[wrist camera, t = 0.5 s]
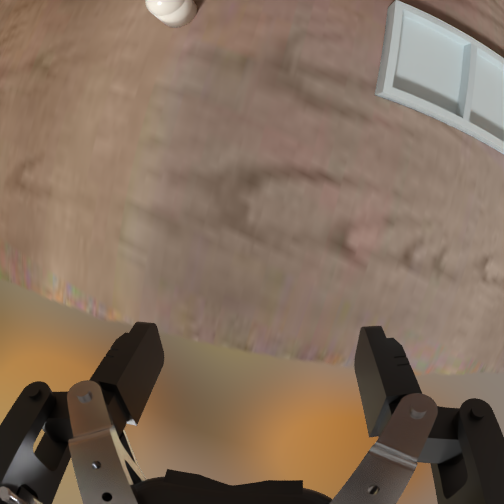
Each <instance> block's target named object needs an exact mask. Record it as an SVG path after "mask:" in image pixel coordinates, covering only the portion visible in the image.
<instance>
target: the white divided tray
mask: <svg viewBox="0 0 504 504" xmlns="http://www.w3.org/2000/svg"><path fill="white" fill-rule="evenodd" d="M375 95H376V96H379V97H382V98H385V99H388V100H390V101H393V102H396V103H398V104H401V105H404V106H406V107H409V108H411V109H414V110H416V111H419V112H421V113H423V114H426V115H428V116H430V117H433V118H435V119H437V120H439V121H441V122H444V123H446V124H448V125H450V126H452V127H454V128H456V129H458V130H460V131H462V132H464V133H466V134H468V135H470V136H472V137H474V138H476V139H478V140H479V141H481V142H483V143H485V144H487V145H489V146H490V147H492V148H494V149H496V150H497V151H499V152H501V153H502V154H504V58H502V57H501V56H500V55H498V54H497V53H495V52H494V51H492V50H491V49H489V48H488V47H486V46H485V45H483V44H482V43H480V42H479V41H477V40H475V39H474V38H472V37H470V36H469V35H467V34H465V33H464V32H462V31H460V30H458V29H457V28H455V27H453V26H451V25H449V24H448V23H446V22H444V21H442V20H440V19H438V18H436V17H434V16H432V15H430V14H428V13H426V12H423V11H421V10H419V9H417V8H415V7H412V6H410V5H408V4H405V3H403V2H401V1H398V0H395V1H394V2H393V3H392V4H391V5H390V6H389V7H388V12H387V21H386V28H385V36H384V43H383V49H382V56H381V62H380V68H379V74H378V80H377V85H376V90H375Z"/></svg>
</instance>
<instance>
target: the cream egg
mask: <svg viewBox="0 0 504 504" xmlns="http://www.w3.org/2000/svg"><path fill="white" fill-rule="evenodd" d="M145 2H146V7H147V9H148V10H149V11H150V12H151V13H152V14H153V15H154V16H156V17H157V18H158V19H159V20H161V21H162V22H163V23H164V24H165V25H167V26H169V27H172V28H178V27H182V26H185V25H187V24H188V23H190V22H191V21H192V20H193V19H194V17H195V15H196V13H197V6H196V4H195V3H194V1H193V0H146V1H145Z"/></svg>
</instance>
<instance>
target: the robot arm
mask: <svg viewBox="0 0 504 504" xmlns="http://www.w3.org/2000/svg"><path fill="white" fill-rule="evenodd" d="M163 364H164V351H163V348H162V344H161V340H160V336H159V333H158V329H157V326H156V324H155V323H146V322H136V323H135V325H134V326H133V328H132V329H131V331H130V332H129V333H124V334H123V335H122V336H120V337H119V338H118V339H116V341H115V342H114V344H113V345H112V346H111V349H110V350H109V351H108V353H107V354H106V357H104V359H103V360H102V362H101V363H100V365H99V366H98V368H97V369H96V371H95V372H94V374H93V375H92V377H91V379H90V380H89V381H88V380H87V381H81V382H79V383H76V384H75V385H73V386H72V387H71V388H70V390H69V391H68V392H52V391H51V389H50V388H49V386H48V385H47V384H46V383H44V382H33V383H31V384H29V385H28V386H26V387H25V388H24V390H23V391H22V393H21V394H20V395H19V397H18V399H17V400H16V401H15V403H14V405H13V406H12V408H11V409H10V411H9V412H8V414H7V415H6V417H5V419H4V420H3V422H2V423H1V425H0V504H52V502H53V499H54V497H55V494H56V492H57V489H58V487H59V484H60V482H61V479H62V477H63V474H64V472H65V470H66V467H67V465H68V462H69V460H70V458H72V462H73V467H74V471H75V475H76V479H77V483H78V487H79V490H80V494H81V497H82V500H83V504H396V503H397V501H398V499H399V498H400V496H401V494H402V493H403V491H404V489H405V487H406V485H407V484H408V482H409V480H410V478H411V476H412V474H413V473H414V471H415V468H416V466H417V462H423V463H431V468H432V473H433V478H434V483H435V489H436V495H437V501H438V504H504V437H503V435H502V432H501V429H500V427H499V424H498V422H497V420H496V417H495V415H494V413H493V410H492V408H491V407H490V405H489V404H488V403H486V402H485V401H483V400H480V399H476V398H474V399H468V400H466V401H465V402H464V403H463V404H462V405H461V407H460V409H458V408H445V407H439V406H437V405H436V403H435V402H434V400H433V399H432V398H430V397H429V396H427V395H424V394H422V392H421V390H420V387H419V385H418V382H417V380H416V377H415V375H414V372H413V370H412V368H411V365H409V364H410V363H409V361H408V358H407V357H406V354H405V352H404V349H403V347H402V345H400V344H399V343H398V342H397V341H396V340H395V339H394V338H386V336H385V334H384V331H383V329H382V327H381V326H368V327H362V328H361V330H360V335H359V340H358V345H357V350H356V354H355V373H356V377H357V382H358V386H359V391H360V395H361V399H362V404H363V409H364V414H365V419H366V424H367V429H368V433H369V437H376V436H379V438H378V440H377V441H376V443H375V444H374V445H373V446H372V447H371V449H370V450H369V451H368V453H367V454H366V456H365V457H364V459H363V460H362V461H361V463H360V464H359V466H358V467H357V469H356V470H355V471H354V473H353V474H352V476H351V477H350V478H349V479H348V481H347V482H346V484H345V485H344V486H343V487H342V489H341V490H340V491H339V492H338V494H337V495H336V496H335V497H334V499H333V500H332V499H331V498H329V497H328V496H326V495H324V494H321V493H319V492H317V491H313V490H310V489H305V488H303V481H302V480H299V481H273V480H268V481H262V482H256V483H250V484H243V485H236V486H235V485H234V486H232V485H227V484H224V483H221V482H218V481H215V480H212V479H210V478H206V477H204V476H201V475H198V474H192V473H186V472H180V471H174V470H169V469H167V472H166V475H165V477H157V478H152V479H147V480H146V478H145V476H144V475H143V473H142V472H141V469H140V467H139V466H138V463H137V461H136V458H135V456H134V453H133V451H132V449H131V446H130V443H129V441H128V438H127V436H126V433H125V431H124V428H125V426H126V423H127V424H132V425H137V424H138V422H139V419H140V417H141V415H142V412H143V410H144V408H145V405H146V403H147V401H148V398H149V396H150V394H151V392H152V389H153V387H154V385H155V383H156V380H157V378H158V376H159V374H160V371H161V369H162V367H163ZM41 429H43V431H44V432H45V433H44V435H43V437H42V439H41V441H40V443H39V445H38V447H37V449H36V451H35V453H33V444H34V442H35V440H36V438H37V437H38V435H39V432H40V431H41Z"/></svg>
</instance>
